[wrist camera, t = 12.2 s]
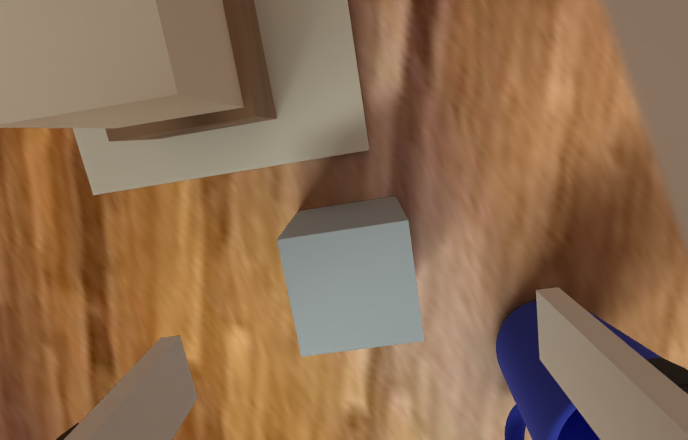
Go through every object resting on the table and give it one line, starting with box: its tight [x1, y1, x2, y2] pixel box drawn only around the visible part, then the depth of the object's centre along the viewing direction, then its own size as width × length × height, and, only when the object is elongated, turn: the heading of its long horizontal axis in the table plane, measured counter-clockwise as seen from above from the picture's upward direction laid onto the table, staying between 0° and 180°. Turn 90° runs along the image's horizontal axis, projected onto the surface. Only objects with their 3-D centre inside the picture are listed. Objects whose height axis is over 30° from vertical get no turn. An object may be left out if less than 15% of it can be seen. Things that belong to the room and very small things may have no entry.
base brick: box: [105, 0, 277, 141], centre depth 21 cm, size 8×8×5 cm
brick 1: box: [0, 0, 244, 128], centre depth 15 cm, size 6×6×7 cm
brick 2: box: [277, 196, 424, 357], centre depth 23 cm, size 6×6×7 cm
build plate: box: [73, 0, 369, 195], centre depth 24 cm, size 18×13×1 cm
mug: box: [496, 300, 662, 440], centre depth 23 cm, size 8×12×10 cm
